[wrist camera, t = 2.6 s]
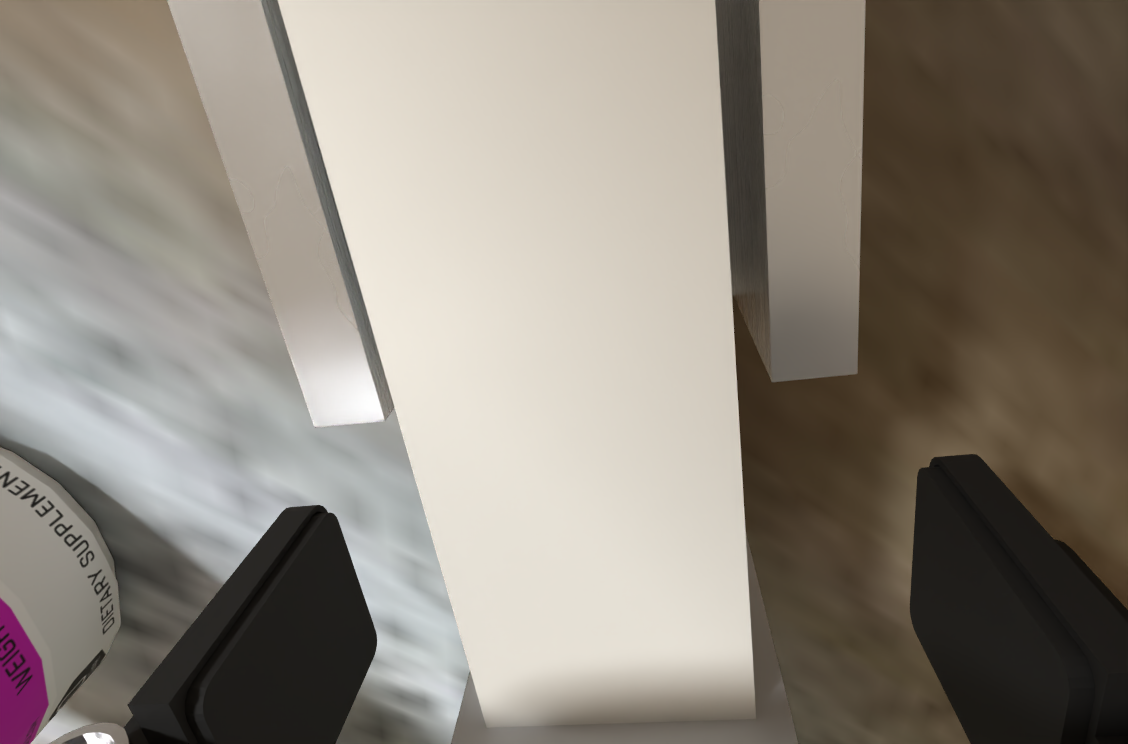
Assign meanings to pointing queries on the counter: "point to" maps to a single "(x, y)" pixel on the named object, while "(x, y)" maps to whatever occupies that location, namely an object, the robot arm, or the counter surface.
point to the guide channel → (752, 175)
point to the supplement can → (48, 598)
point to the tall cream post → (558, 349)
